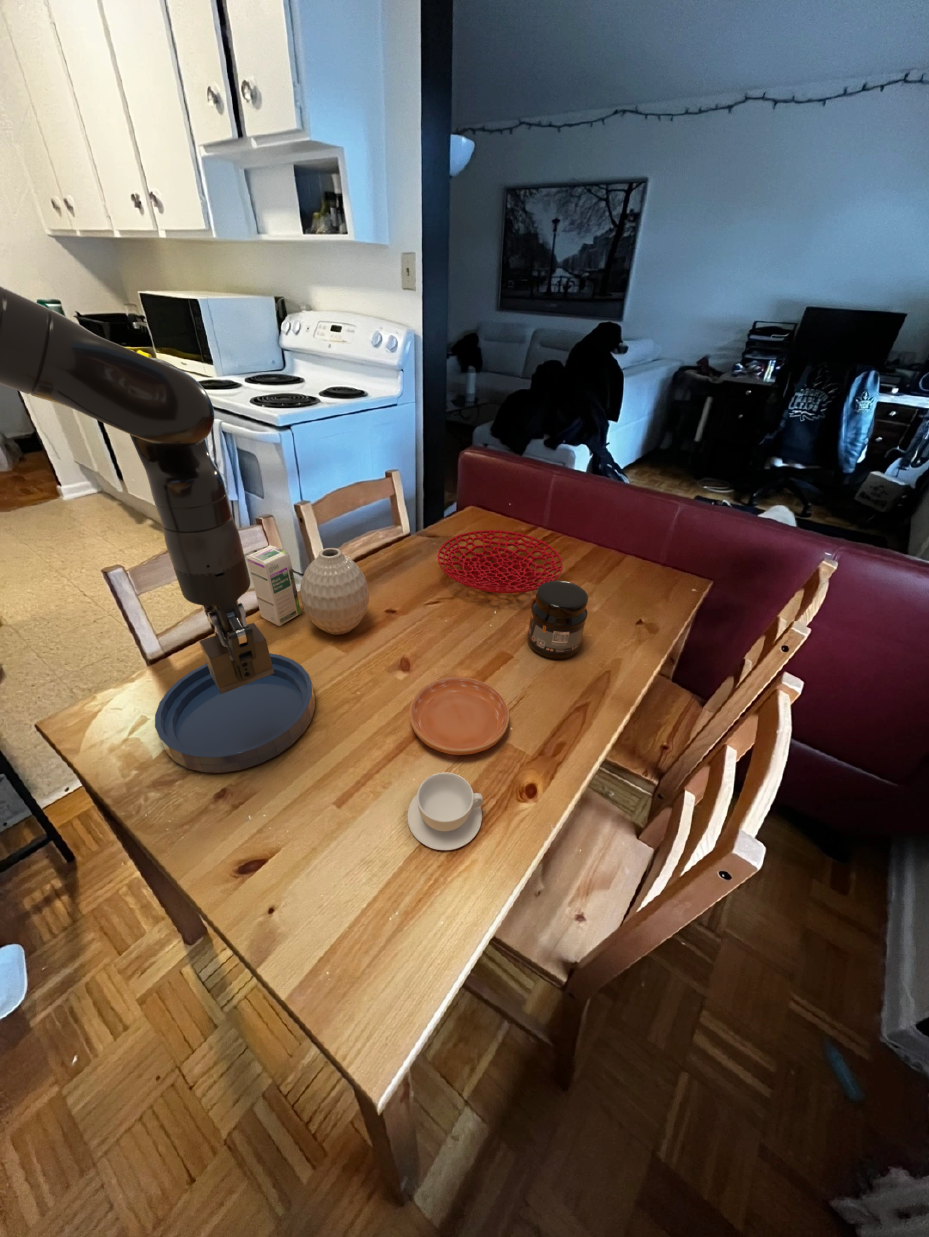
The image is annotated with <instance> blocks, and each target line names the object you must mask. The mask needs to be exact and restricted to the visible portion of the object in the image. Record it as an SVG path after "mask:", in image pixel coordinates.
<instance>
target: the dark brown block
mask: <svg viewBox="0 0 929 1237" xmlns="http://www.w3.org/2000/svg"><path fill="white" fill-rule="evenodd" d="M248 625H249V626H250V628H252V630H253V632H252V633H253V639H254V645H255V652H256V655H257V656H256V659H254V660H252V662H253V666H254V670H255V676H254V677H253V678H250V679H248V680H245V681H243V682H240V681H239V680H238V679H237V676H236V673H235V670H234V666H233V663H232V660H230V658H229V656H230V655H229V652H228V650H227V647H225V646H223V645H222V644H221V643H220V640H219V638H218V635H215V634H214V635H213V636H209V637H207V638H203V639H200V640H199V644H200V647H201V650H202V654H203V657H204V659H205V662H206V663H207V665H208V668H209V671H210V674H211V677H212V678H213V680H214V682H215V684H216V686H217V688H218V689H219V691H220V693H221V694H223V693H225V692H228V691H230V690H233V689H236V688H238V687H241V686H243V685H246V684H248V683H251V682H253V681H256V680H258V679H261V678H263V677H266V676H269V675H271V674H274V671H273V667H272V662H271V658H270V654H269V653H270V651H269V646H268V641H267V638H266V637H265V636H264V634H263V633H262V631H261V630H260V629H259V628H258V626H257V624H256V623H255V622H252V623H251V622H250V623H249V624H248V623H247V626H248ZM227 636H228V634H225V635H224V637H227Z"/></svg>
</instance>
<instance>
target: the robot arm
mask: <svg viewBox="0 0 929 1237" xmlns="http://www.w3.org/2000/svg"><path fill="white" fill-rule="evenodd" d="M0 385H1V386H4V387H6V388H10V389H12V390H15V391H17V392H21V393H23V394H27V395H31V397H32V396H33V397H35V398H39V399H42V400H46V401H49V402H53V403H56V404H59V405H62V406H65V407H68V408H70V409H72V410H75V411H77V412H79V413H81V414H84V415H85V416H88V417H89V418H91V419H92V418H93V419H94V420H97V421H99V422H101V423H103V424H105V425H107V426H109V427H112V428H115V429H116V430H119V431H121V432H123V433H126V434H129V437H130V440H131V441H132V443H133V445H134V448H135V450H136V453H137V455H138V457H139V459H140V461H141V464H142V466H143V468H144V470H145V473H146V476H147V480H148V484H149V488H150V492H151V496H152V499H153V502H154V505H155V508H156V511H157V514H158V517H159V520H160V522H161V527H162V531H163V536H164V542H165V547H166V550H167V554H169V559H170V561H171V564H172V567H173V571H174V574H175V576H176V580H177V582H178V585H179V589H180V591H181V595H182V597H183V598H184V599H185V600H186V601H188V602H190V603H191V604H194V605H198V606H201V607H202V610H203V612H204V614H205V616H206V619H207V622H208V624H209V626H210V628H211V629H212V630H214V633H213V634H214V636H215V635H218V638H219V640H220V643H221V644H222V645H223V646H225V647H227V650H228V652H229V655H230V656H229V658H230V660H232V663H233V666H234V670H235V673H236V676H237V679H238V680H239V681H240V682H243V681H245V680H248V679H250V678H253V677H254V676H255V670H254V666H253V662H252V660H254V659H256V656H257V655H256V652H255V645H254V639H253V633H252V632H253V630H252V628H250V626H249V625H248V622H247V620H246V616H247V614H246V610H245V607H244V604H243V603H242V602H239V599H240V598H241V597H242V596H243V595H245V594H246V593H247V592H248V591H249V589H250V588H251V576H250V572H249V568H248V563H247V559H246V556H245V551H244V547H243V544H242V539H241V536H240V533H239V532H240V531H239V529H238V526H237V524H236V522H235V519H234V516H233V511H232V508H231V504H230V500H229V496H228V492H227V489H226V484H225V480H224V479H223V476H222V473H221V472H220V470H219V468H218V467H217V465H216V464H215V462H214V461H213V460H212V457H211V455H210V452H209V448H208V445H207V442H206V439H207V437H208V436H210V434H211V432H212V430H213V428H214V424H215V410H214V409H215V408H214V406H213V403H212V400H211V398H210V396H209V394H208V393H207V390H206V389H205V388H204V387H203V386H202V385H201V383H200V382H199V381H198V380H197V379H195V378H194V377H193V376H192V375H190V374H189V373H187V372H185V371H183V370H182V369H181V368H179V367H177V366H176V365H174V364H172V363H170V362H168V361H166V360H163V359H160V358H157V357H151V356H150V357H148V356H146V355H143V354H141V353H139V352H137V351H134V350H132V349H130V348H127V347H125V346H123V345H120V344H118V343H116V342H113V341H110V340H108V339H106V338H103V337H101V336H99V335H97V334H95V333H93V332H92V331H90V330H88V329H87V328H86V327H84V326H83V325H81V324H79V323H78V322H76V321H74V320H73V319H70V318H69V317H67V316H66V315H63V314H61V313H60V312H57V311H55V310H53V309H51V308H50V309H49V308H48V307H47V306H44V305H42V304H40V303H38V302H36V301H34V300H31V299H30V298H27V297H25V296H22V295H21V294H18V293H16V292H14V291H12V290H11V289H7V288H5V287H3V286H1V285H0ZM247 625H248V626H247ZM225 634H228V636H227V637H224V635H225Z"/></svg>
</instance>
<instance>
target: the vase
mask: <svg viewBox="0 0 929 1237" xmlns="http://www.w3.org/2000/svg"><path fill="white" fill-rule="evenodd" d="M369 589H370V588H369V583H368V581H367V578H366V576H365V573H364V572H363V571H362V569H361V567H359V565H358V564H357V563H356V562H355V561H354V560H353V559H351V558H350V557H349V556H348V555H345V554H343V552H342V551H341V550H340V548H339V549H338V548H336V547H327V548H324V549H321V550H320V551H319V553H318V555H317V557H316V558H314V559H313V560H312V561H311V562H310V563H309V565H308V566H307V568H306V569H305V571H304V573H303V576H302V579H301V583H300V589H299V590H300V592H299V593H300V600H301V605H302V608H303V610H304V613H305V615H306V616H307V618H308V619H309V621H311V622H312V624H314V626H316V627H317V628H318V629H320V630H322V631H323V632H325V633H327V634H329V635H333V636H336V635H337V636H339V635H345V634H348V633H350V632H352V631H353V630H354V629H355V628H356V627H357V626H358V625H360V623H361V621H362V620H363V619H364V618H365V616H366V613H367V611H368V607H369V603H370V590H369Z"/></svg>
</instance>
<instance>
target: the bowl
mask: <svg viewBox="0 0 929 1237" xmlns="http://www.w3.org/2000/svg"><path fill="white" fill-rule="evenodd" d="M495 534H499V535H495ZM502 534H503V535H504V534H505V536H502ZM472 535H474V536H475V537H472ZM467 536H468V537H467ZM491 536H492V537H491ZM464 537H466V538H464ZM496 539H497V541H495V540H496ZM526 539H528V540H526ZM470 540H471V541H470ZM478 540H479V541H480V542H481V543H482V544H475V543H474V542H475V541H478ZM501 540H504V541H505V542H503V541H501ZM518 540H519V541H521V542H519V541H518ZM509 541H513V542H509ZM460 542H465V543H466V544H465V545H460ZM447 545H449V546H448V547H447ZM493 545H495V546H493ZM540 545H542V546H544V547H541V546H540ZM469 546H472V547H471V548H469ZM521 546H523V547H524V548H520V547H521ZM508 547H513V548H516V549H515V550H512V549H509V548H508ZM536 548H537V549H536ZM443 549H444V550H445V551H443ZM478 549H482V552H475V550H478ZM488 549H491V550H488ZM528 549H531V550H532V551H529V550H528ZM462 550H465V552H463V551H462ZM547 550H550V552H547ZM518 553H525V555H526V556H523V555H520V554H518ZM535 553H537V554H541V555H539V556H534V554H535ZM457 554H460V556H458V555H457ZM440 555H443V556H440ZM468 555H471V557H467V556H468ZM555 558H557V561H556V560H555ZM549 559H551V560H550V561H548V560H549ZM440 560H442V561H440ZM453 560H455V561H453ZM539 560H542V561H544V563H543V564H537V563H535V562H534V561H539ZM491 561H492V562H491ZM437 563H438V565H439V567H440V568H441V571H442V572H443V573H444V574H445V575H446V576H448V578H450V579H451V580H454V581H456V582H458V584H460V585H463V586H466V587H469V588H472V589H475V590H479V591H483V592H490V593H497V594H520V593H528V592H532V591H533V592H534V591H537V588H538V587H539V586H540V585H541V584H543V583H546V582H549V581H557V579H559V577H560V576H561V574H562V572H563V569H564V566H563V559H562V557H561V555H560V554H559V553H558V552H557V551H556V549H555V548H553V546H551V545H550V544H548V543H547V542H545V541H543V540H541V539H538V538H536V537H534V536H530V535H528V534H523V533H520V532H514V531H507V530H499V529H485V530H473V531H468V532H464V533H461V534H457V535H455V536H453V537H452V538H450V539H448V540H447V541H445V542H444V543H443V544H441V546H440V547H439V549H438V553H437ZM557 564H560V565H559V566H557ZM546 565H550V566H547V567H546ZM443 566H444V567H445V568H444V567H443ZM455 566H459V567H460V568H462V569H457V568H456V567H455ZM530 566H531V567H530ZM538 569H539V570H540V569H542V571H537V570H538ZM551 572H553V573H551ZM538 581H539V582H538Z"/></svg>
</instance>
